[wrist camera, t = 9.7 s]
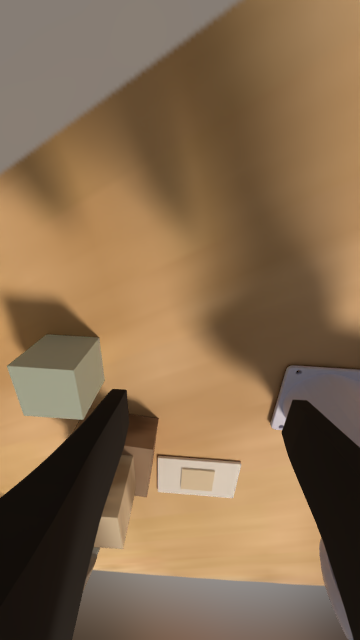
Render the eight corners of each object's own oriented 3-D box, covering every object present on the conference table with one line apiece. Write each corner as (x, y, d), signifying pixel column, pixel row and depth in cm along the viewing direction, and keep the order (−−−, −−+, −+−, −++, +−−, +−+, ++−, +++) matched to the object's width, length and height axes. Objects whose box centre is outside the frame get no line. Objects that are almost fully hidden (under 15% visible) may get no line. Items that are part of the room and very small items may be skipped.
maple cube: (132, 455, 22) (117, 518, 17) (136, 486, 24) (123, 549, 19) (82, 452, 22) (54, 513, 18) (90, 483, 24) (66, 544, 20)
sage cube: (99, 337, 21) (73, 370, 16) (104, 379, 23) (83, 419, 18) (46, 333, 21) (6, 365, 17) (57, 376, 23) (24, 415, 19)
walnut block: (159, 416, 25) (153, 449, 21) (152, 461, 28) (146, 497, 25) (87, 405, 25) (69, 437, 21) (90, 452, 28) (74, 487, 25)
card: (240, 461, 27) (241, 466, 27) (232, 495, 30) (233, 499, 29) (158, 455, 27) (157, 459, 27) (158, 489, 30) (157, 493, 30)
